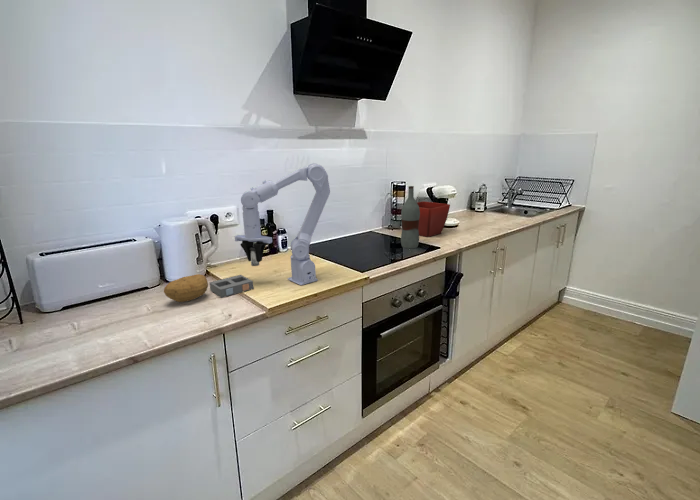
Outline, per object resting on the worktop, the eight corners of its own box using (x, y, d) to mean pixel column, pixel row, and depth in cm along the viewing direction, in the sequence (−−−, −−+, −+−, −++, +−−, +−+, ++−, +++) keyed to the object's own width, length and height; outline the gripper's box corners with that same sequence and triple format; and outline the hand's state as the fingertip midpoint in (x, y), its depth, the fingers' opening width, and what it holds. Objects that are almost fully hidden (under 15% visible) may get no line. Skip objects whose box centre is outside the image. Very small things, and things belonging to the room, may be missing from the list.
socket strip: (254, 289, 135) (253, 281, 134) (221, 298, 127) (220, 289, 127) (241, 282, 142) (240, 274, 142) (210, 290, 135) (209, 282, 134)
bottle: (419, 249, 183) (421, 187, 175) (400, 248, 184) (401, 187, 176) (418, 244, 192) (420, 185, 184) (400, 244, 193) (401, 185, 185)
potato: (161, 302, 125) (157, 279, 123) (203, 290, 134) (200, 269, 132) (172, 310, 118) (168, 287, 116) (214, 298, 128) (211, 276, 125)
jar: (261, 265, 138) (260, 246, 136) (253, 266, 136) (251, 248, 134) (257, 263, 141) (256, 245, 139) (249, 264, 138) (247, 246, 137)
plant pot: (429, 239, 201) (430, 208, 196) (402, 234, 215) (402, 205, 210) (449, 233, 213) (451, 204, 209) (422, 228, 227) (423, 201, 222)
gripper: (275, 223, 136) (278, 259, 139) (241, 221, 140) (244, 256, 144) (265, 227, 129) (268, 264, 133) (229, 225, 134) (233, 261, 137)
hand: (255, 260), depth 138 cm, fingers closed on jar, 3 cm apart
